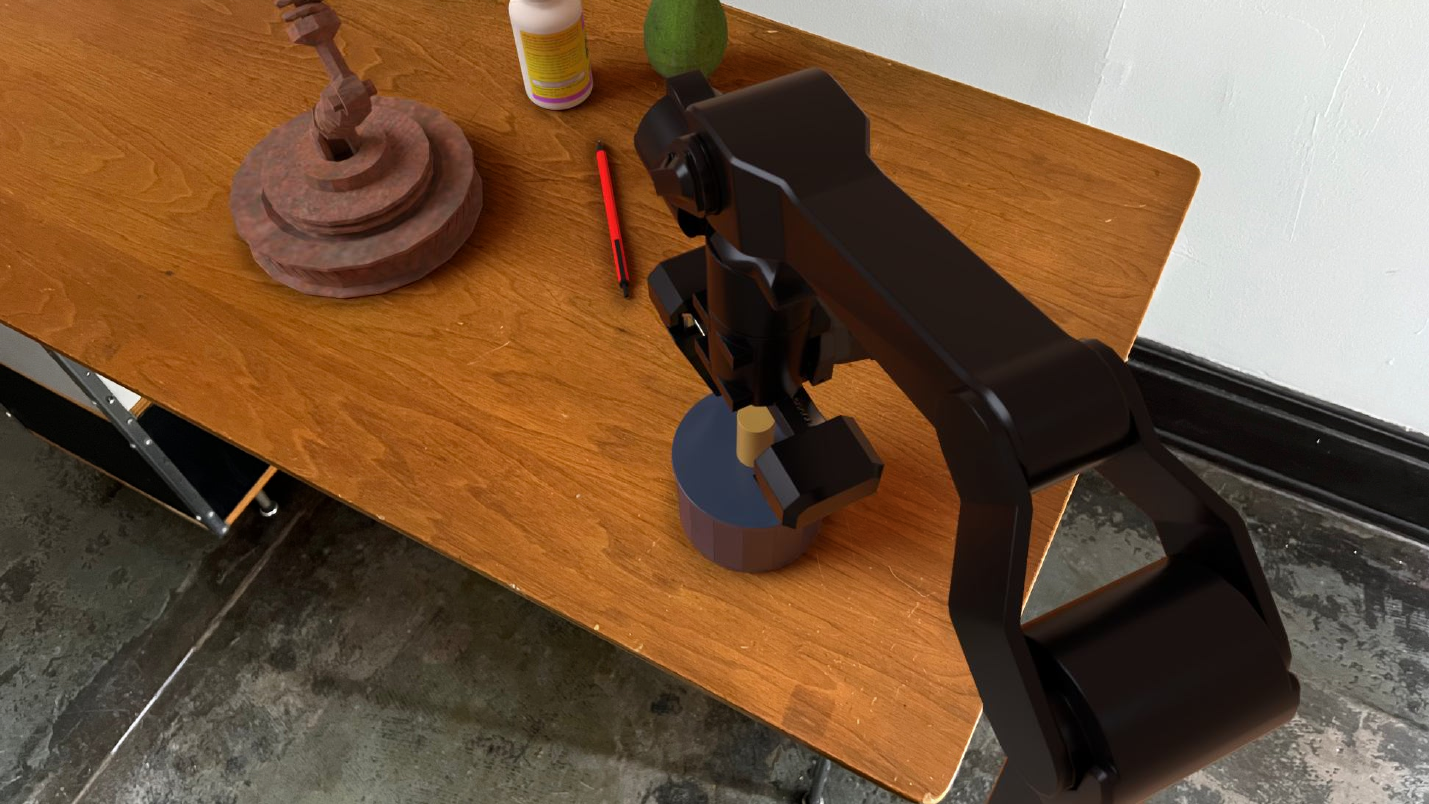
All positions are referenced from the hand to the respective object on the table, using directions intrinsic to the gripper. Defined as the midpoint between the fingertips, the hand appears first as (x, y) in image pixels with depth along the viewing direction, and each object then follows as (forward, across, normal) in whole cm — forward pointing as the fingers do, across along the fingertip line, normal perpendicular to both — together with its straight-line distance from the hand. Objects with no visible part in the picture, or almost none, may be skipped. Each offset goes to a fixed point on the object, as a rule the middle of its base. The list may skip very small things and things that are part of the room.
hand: (754, 445), depth 63 cm
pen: (+9, +31, -2) cm, 32 cm away
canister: (+9, 0, 0) cm, 9 cm away
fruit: (+9, +45, -16) cm, 49 cm away
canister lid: (+1, 0, 0) cm, 1 cm away
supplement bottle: (+9, +49, -4) cm, 50 cm away
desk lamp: (+9, +44, +18) cm, 48 cm away
